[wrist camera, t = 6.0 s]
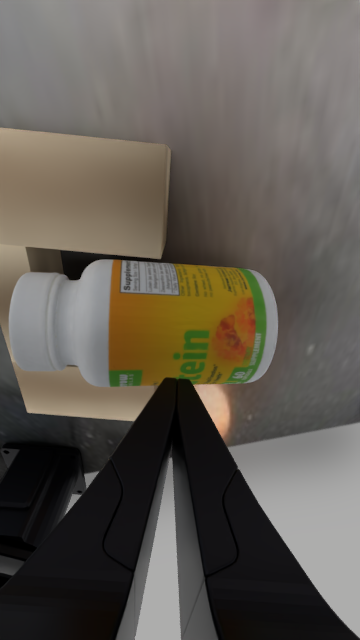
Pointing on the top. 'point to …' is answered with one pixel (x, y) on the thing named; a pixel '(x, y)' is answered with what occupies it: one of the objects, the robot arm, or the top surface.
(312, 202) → the top surface
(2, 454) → the robot arm
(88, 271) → the supplement bottle
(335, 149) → the top surface
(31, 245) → the beige c-shaped block
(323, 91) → the top surface
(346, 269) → the top surface
